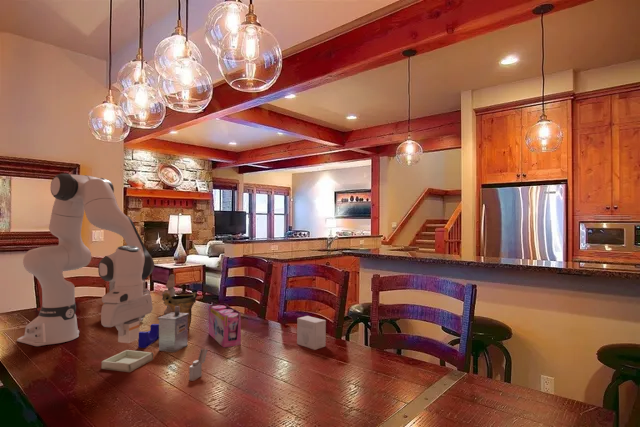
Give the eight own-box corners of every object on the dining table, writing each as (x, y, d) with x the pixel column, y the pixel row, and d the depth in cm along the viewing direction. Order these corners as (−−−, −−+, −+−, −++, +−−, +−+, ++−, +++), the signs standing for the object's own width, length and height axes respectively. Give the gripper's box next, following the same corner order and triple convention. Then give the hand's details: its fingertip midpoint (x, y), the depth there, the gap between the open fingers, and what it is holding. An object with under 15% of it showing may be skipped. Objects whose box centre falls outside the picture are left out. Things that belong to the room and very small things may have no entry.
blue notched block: (148, 338, 157) (148, 323, 157) (159, 338, 157) (159, 323, 157) (134, 348, 145) (134, 332, 145) (146, 348, 145) (146, 332, 145)
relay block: (129, 343, 126) (129, 322, 126) (117, 342, 127) (118, 321, 127) (139, 338, 130) (139, 318, 131) (128, 337, 132) (128, 317, 132)
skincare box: (326, 346, 147) (326, 319, 148) (315, 350, 143) (315, 323, 143) (307, 340, 155) (307, 314, 155) (296, 344, 150) (296, 317, 150)
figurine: (173, 309, 206) (173, 273, 206) (183, 311, 201) (183, 274, 202) (159, 313, 198) (159, 275, 198) (169, 315, 194) (169, 276, 194)
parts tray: (101, 368, 125) (101, 361, 125) (126, 356, 135) (126, 349, 136) (129, 372, 122) (129, 364, 122) (152, 359, 133) (153, 352, 133)
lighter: (193, 381, 115) (193, 355, 115) (188, 380, 116) (189, 354, 116) (207, 372, 122) (207, 347, 122) (202, 371, 123) (203, 347, 123)
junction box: (157, 350, 142) (157, 309, 142) (171, 343, 150) (172, 304, 150) (175, 352, 140) (175, 311, 140) (188, 345, 148) (189, 305, 148)
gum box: (242, 345, 148) (242, 313, 148) (224, 349, 144) (224, 316, 144) (224, 331, 167) (224, 302, 167) (207, 334, 163) (208, 304, 163)
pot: (169, 337, 157) (170, 294, 158) (155, 332, 164) (156, 291, 164) (204, 328, 171) (204, 288, 171) (190, 323, 178) (190, 286, 178)
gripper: (142, 287, 140) (142, 324, 140) (97, 298, 120) (97, 341, 120) (156, 287, 138) (156, 325, 138) (113, 299, 118) (113, 343, 118)
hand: (128, 332), depth 129 cm, fingers closed on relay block, 5 cm apart
